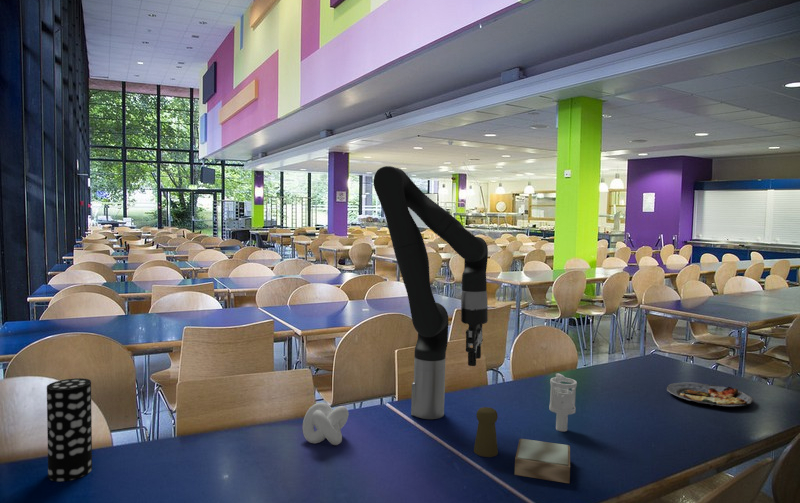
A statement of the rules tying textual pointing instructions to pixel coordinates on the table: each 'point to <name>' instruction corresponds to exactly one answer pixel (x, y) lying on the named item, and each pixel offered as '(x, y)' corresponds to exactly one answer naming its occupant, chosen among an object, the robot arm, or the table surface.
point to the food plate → (710, 394)
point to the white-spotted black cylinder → (69, 429)
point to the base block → (543, 460)
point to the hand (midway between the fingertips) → (474, 361)
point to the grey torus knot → (324, 423)
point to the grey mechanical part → (562, 400)
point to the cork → (486, 433)
